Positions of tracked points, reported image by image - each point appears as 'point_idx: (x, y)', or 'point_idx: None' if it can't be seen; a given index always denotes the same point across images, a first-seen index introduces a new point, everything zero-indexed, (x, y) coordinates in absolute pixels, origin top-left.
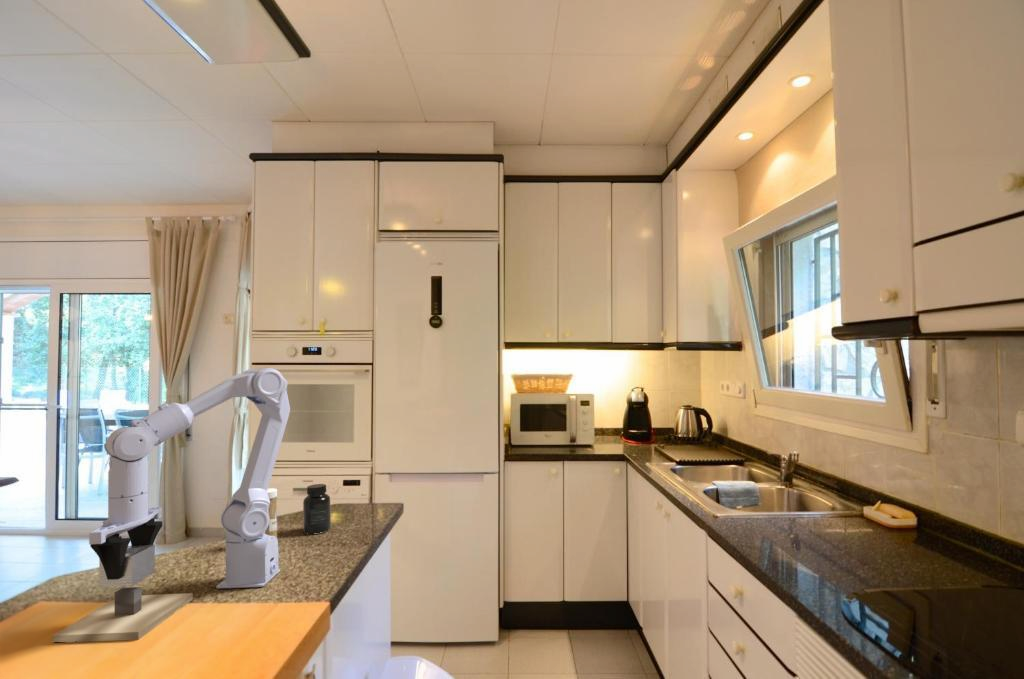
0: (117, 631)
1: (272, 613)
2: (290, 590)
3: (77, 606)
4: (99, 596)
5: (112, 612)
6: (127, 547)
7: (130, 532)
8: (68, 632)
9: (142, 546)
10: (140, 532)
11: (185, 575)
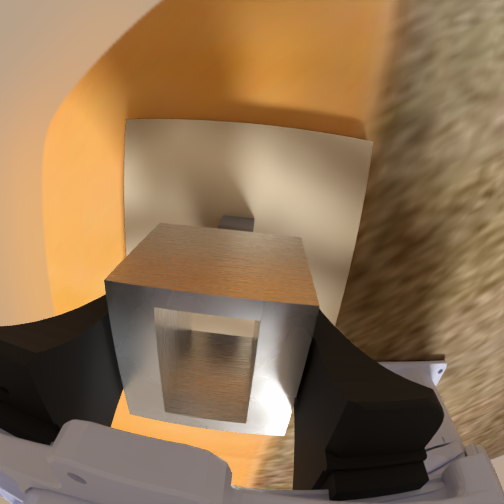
0: None
1: (223, 458)
2: None
3: (363, 27)
4: (422, 56)
5: (245, 195)
6: (276, 342)
7: (331, 403)
8: (136, 151)
9: (270, 405)
10: (311, 446)
11: (492, 241)
